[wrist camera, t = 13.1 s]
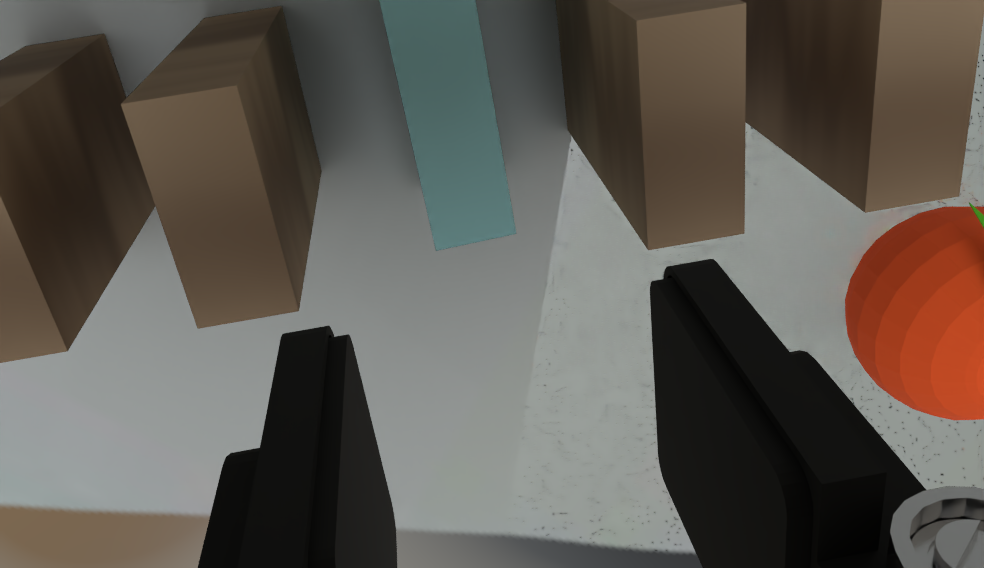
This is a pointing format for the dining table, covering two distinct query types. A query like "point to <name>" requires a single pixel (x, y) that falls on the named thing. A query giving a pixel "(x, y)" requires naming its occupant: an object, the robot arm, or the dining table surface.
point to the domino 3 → (450, 118)
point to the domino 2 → (231, 165)
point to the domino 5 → (866, 92)
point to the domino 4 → (661, 110)
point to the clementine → (924, 312)
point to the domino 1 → (62, 191)
